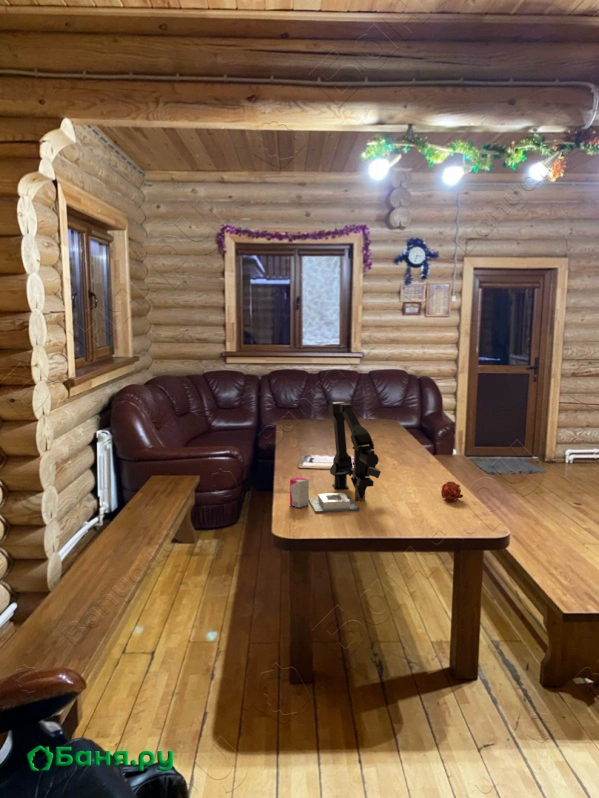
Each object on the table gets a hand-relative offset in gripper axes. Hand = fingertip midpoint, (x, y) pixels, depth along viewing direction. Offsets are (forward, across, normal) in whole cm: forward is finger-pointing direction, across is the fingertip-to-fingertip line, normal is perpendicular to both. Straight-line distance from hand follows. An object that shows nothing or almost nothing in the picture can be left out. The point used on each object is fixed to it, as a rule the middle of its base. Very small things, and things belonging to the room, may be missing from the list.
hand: (360, 496), depth 240 cm
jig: (+2, -5, +13) cm, 14 cm away
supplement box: (+2, -3, +27) cm, 27 cm away
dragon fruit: (+2, -6, -39) cm, 39 cm away
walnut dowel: (+2, 0, 0) cm, 2 cm away
